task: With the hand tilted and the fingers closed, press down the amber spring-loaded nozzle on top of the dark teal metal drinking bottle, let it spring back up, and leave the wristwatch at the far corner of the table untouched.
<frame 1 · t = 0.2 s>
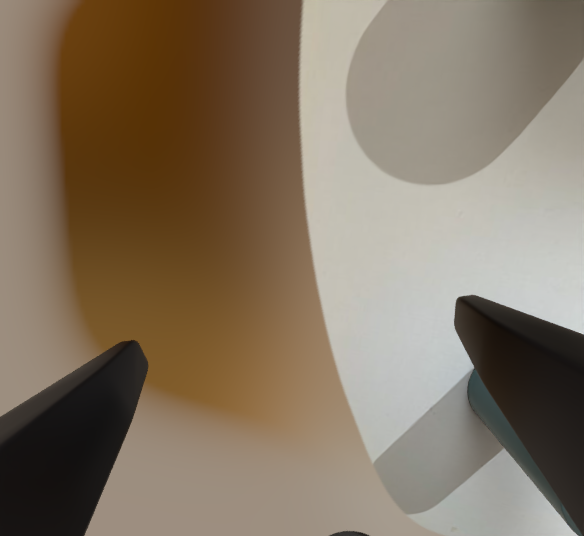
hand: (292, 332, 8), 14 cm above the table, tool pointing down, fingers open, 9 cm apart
bottle: (513, 387, 24), on the table
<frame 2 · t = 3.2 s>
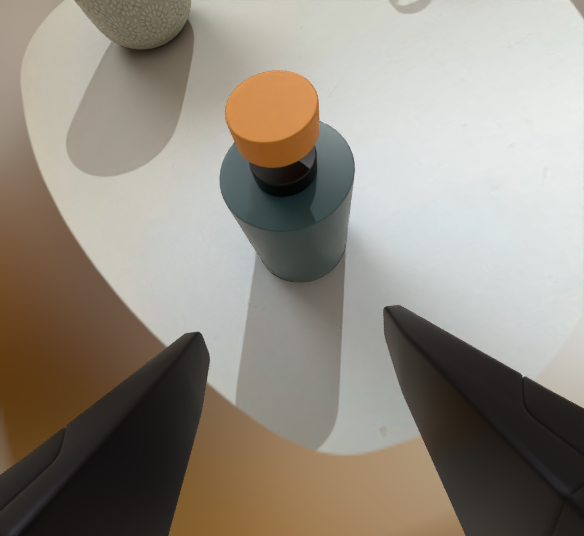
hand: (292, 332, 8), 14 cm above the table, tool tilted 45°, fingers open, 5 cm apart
bottle: (301, 239, 24), on the table
planter: (155, 30, 35), on the table
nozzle: (273, 119, 12), point 12 cm above the table, slide at 0.1 cm
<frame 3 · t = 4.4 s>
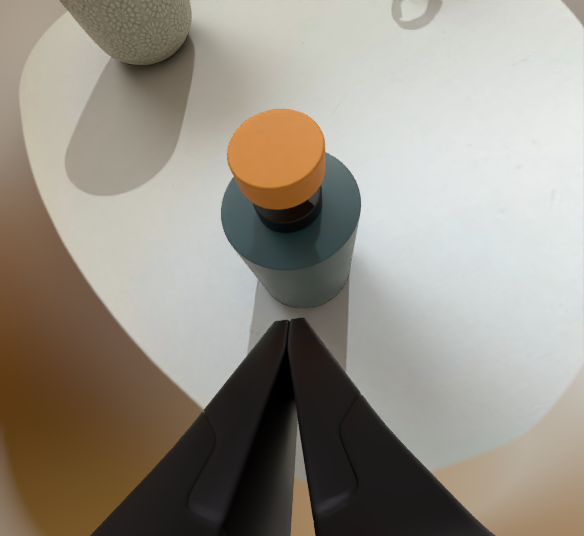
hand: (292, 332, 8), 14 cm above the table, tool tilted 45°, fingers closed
bottle: (303, 263, 24), on the table
planter: (156, 45, 35), on the table
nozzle: (278, 159, 12), point 12 cm above the table, slide at 0.1 cm
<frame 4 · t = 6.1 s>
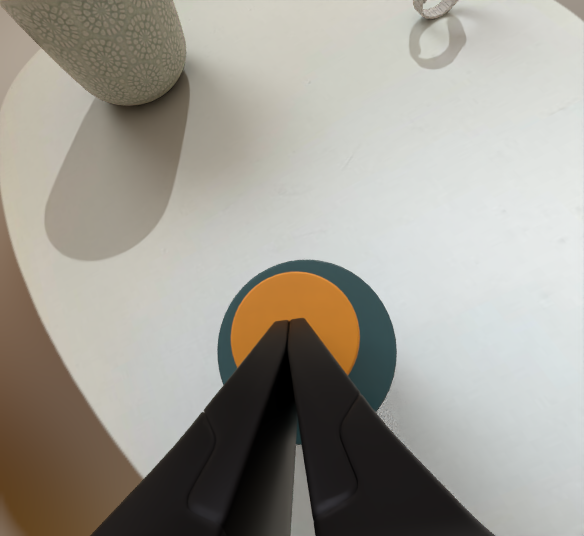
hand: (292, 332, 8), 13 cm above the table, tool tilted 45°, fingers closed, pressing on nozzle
bottle: (314, 354, 20), on the table
planter: (147, 81, 32), on the table
wristwatch: (432, 15, 30), on the table
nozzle: (296, 335, 9), point 12 cm above the table, slide at -0.5 cm, touching gripper
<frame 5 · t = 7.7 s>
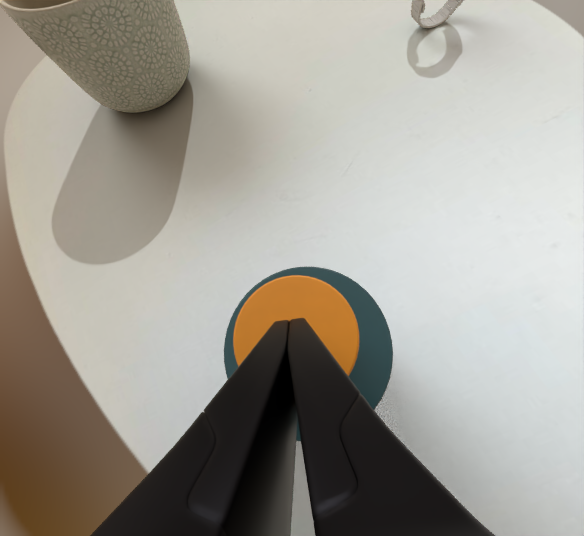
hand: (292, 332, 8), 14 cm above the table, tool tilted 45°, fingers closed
bottle: (315, 355, 21), on the table
planter: (151, 88, 32), on the table
wristwatch: (430, 24, 30), on the table
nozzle: (297, 337, 9), point 12 cm above the table, slide at 0.1 cm
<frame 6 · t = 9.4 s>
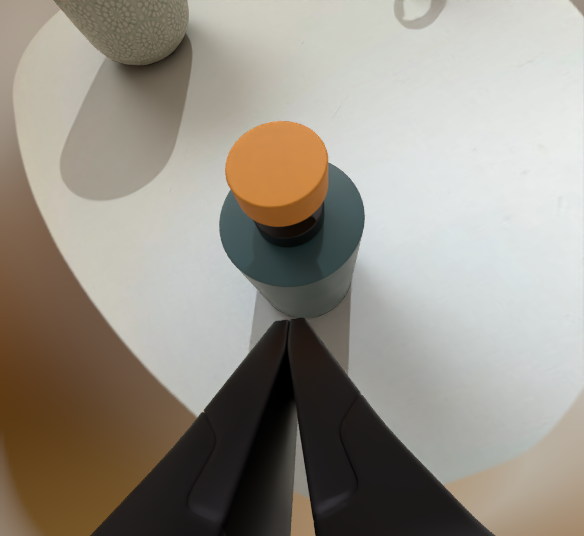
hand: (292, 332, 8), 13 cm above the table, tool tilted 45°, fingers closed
bottle: (304, 271, 23), on the table
planter: (152, 44, 34), on the table
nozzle: (278, 174, 11), point 12 cm above the table, slide at 0.1 cm
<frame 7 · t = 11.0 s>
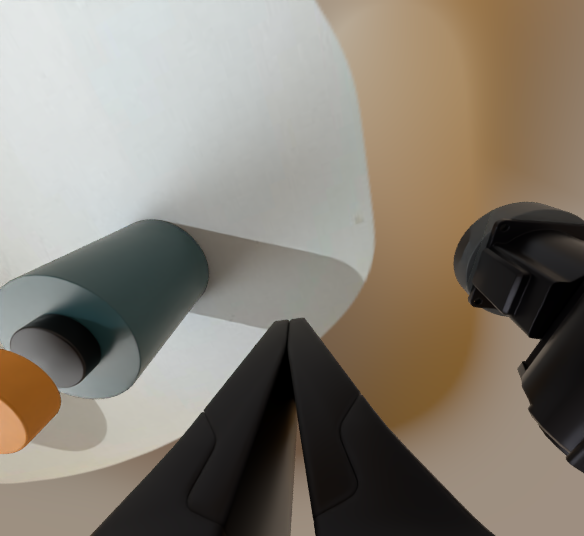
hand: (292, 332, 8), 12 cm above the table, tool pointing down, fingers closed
bottle: (161, 266, 22), on the table
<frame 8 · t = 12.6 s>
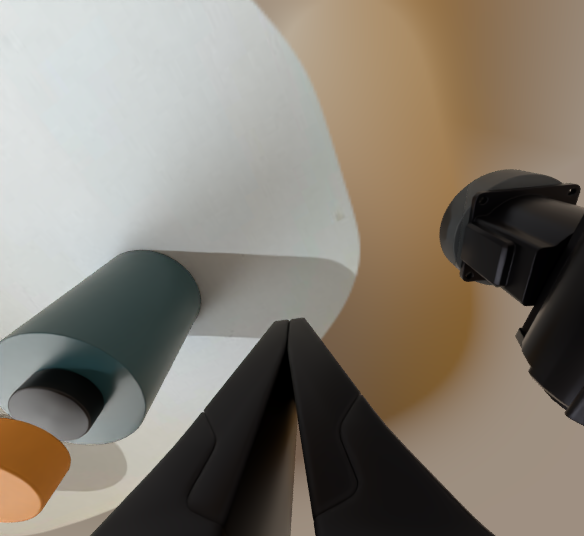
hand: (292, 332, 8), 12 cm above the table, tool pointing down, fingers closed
bottle: (151, 295, 22), on the table
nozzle: (3, 470, 11), point 12 cm above the table, slide at 0.1 cm
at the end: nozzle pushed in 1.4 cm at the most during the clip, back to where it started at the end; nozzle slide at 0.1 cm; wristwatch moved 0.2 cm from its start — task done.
